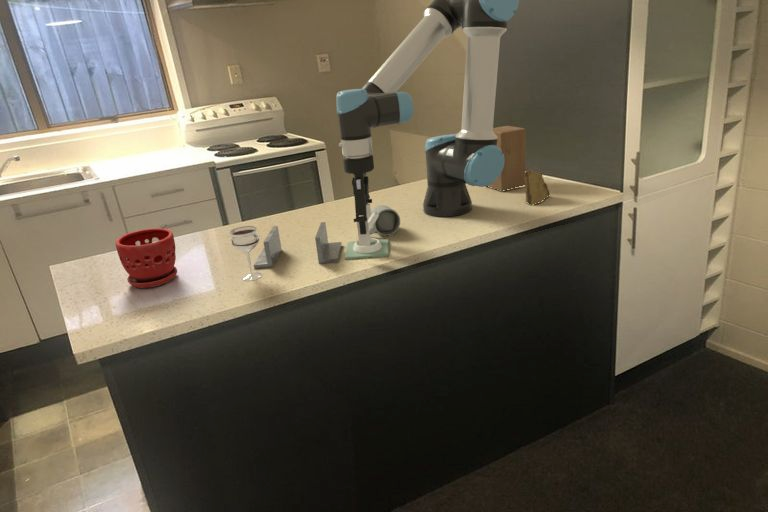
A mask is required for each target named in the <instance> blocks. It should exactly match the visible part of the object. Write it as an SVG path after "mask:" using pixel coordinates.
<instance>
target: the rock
mask: <svg viewBox="0 0 768 512" xmlns="http://www.w3.org/2000/svg"><path fill="white" fill-rule="evenodd" d="M524 188H525V203H526V202H528V203H529V204H532V205H533V204H535V203H538V202H541V201H542V200H544V198H546V197H547V196H549V195H550V196H551V193H550V190H549V187H548V184H547V183H546V182H545V180H544V177H543V174H542V173H539V171H536V170H527V171H525V187H524ZM546 199H547V198H546ZM544 201H545V200H544ZM528 203H527V204H528ZM529 204H528V205H529ZM532 205H531V206H532Z"/></svg>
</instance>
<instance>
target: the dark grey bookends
mask: <svg viewBox="0 0 768 512" xmlns="http://www.w3.org/2000/svg"><path fill="white" fill-rule="evenodd" d="M314 241H315V246H316V253H317V261H318V264H319V265H320V264H321V265H322V264H332V263H335V262H336V263H338V262H339V258H340V255H341V251H342V243H343V242H342V241H337V242H329V239H328V231H327V223H326V221H324V222H323V221H322V222H320V225H319V227H318V229H317V232H316V235H315V237H314ZM282 251H283V249H282V243H281V238H280V232H279V226H278V225H273V226H272V227H271V230H270V231H269V232H268V234H267V235H266V237H265V239H264V240H263V249H262V250H261V251H260V254H259V255H258V256H257V258H256V260H255V262H254V263H253V269H255V270H256V269H266V268H268V269H269V268H273V267H274V266H275V264H276V262H277V260H278V258H279V256H280V254H281V253H282Z"/></svg>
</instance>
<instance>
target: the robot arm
mask: <svg viewBox="0 0 768 512" xmlns="http://www.w3.org/2000/svg"><path fill="white" fill-rule="evenodd" d="M519 3H520V0H432V2H430V4H429V5H428V6H427V7H426V9H425V10H424V11H423V18H422V19H421V20H420V21H419V22H418V24H417V25H416V26H414V28H413V29H412V30H411V31H410V33H409V34H408V35H407V36H406V37H405V39H404V40H402V42H401V43H400V44H399V45H398V47H396V49H395V50H394V51H393V52H392V53H391V55H389V57H388V58H387V59H386V60H385V61H384V62H383V64H381V66H380V67H379V68H378V69H377V71H376V72H375V73H374V74H372V76H371V78H369V79H368V81H367V82H366V83H365V84H364V85H363V86H362V88H353V89H344V90H340V91H338V92H337V93H336V98H335V99H336V101H335V102H336V103H335V104H336V105H335V106H336V114H337V120H338V128H339V129H338V130H339V135H340V142H339V143H338V147H339V148H341V152H342V153H341V154H342V156H343V158H342V163H343V172H344V173H347V174H349V175H350V174H352V175H354V177H352V180H351V185H352V189H353V190H352V191H353V196H354V209H355V218H353V223H356V225H357V235H358V240H359V246H369V245H370V238H371V235H370V236H369V226H368V220H369V218H370V217H371V211H372V209H371V204H372V203H373V199H372V198H370V197H371V196H370V192H369V187H370V186H369V184H370V183H369V176H367V173H369V172H372V171H373V170H374V169H375V165H374V164H375V163H374V155H373V149H374V148H373V138H372V133H371V132H372V131H371V130H372V129H375V128H378V127H385V126H386V127H387V126H391V125H397V124H398V125H400V124H403V123H406V122H409V121H410V120H411V119H412V117H413V115H414V111H415V110H414V102H413V98H412V96H411V95H410V94H409V93H408V92H406V91H398V90H399V89H400V88H401V87H402V86H403V85H404V84H405V82H406V81H407V80H408V79H409V78H410V77H411V76H412V74H413V73H414V72H415V71H417V69H418V68H419V66H420V65H421V64H422V62H424V60H425V59H426V58H427V57H428V56H429V55H430V54H431V52H433V50H434V49H435V48H436V47H437V46H438V45H439V43H441V42H442V40H443V39H444V38H449V37H451V35H452V34H453V33H454V32H455V31H457V30H458V29H459V28H461V31H462V32H463V33H464V35H465V36H466V49H465V66H464V67H465V68H464V83H463V86H464V87H463V97H462V98H463V100H462V113H461V114H462V115H461V130H459V131H458V133H452V134H451V133H450V134H443V135H437V136H433V137H429V138H428V139H426V141H425V147H424V148H425V149H424V153H425V163H426V166H425V167H426V180H427V188H426V191H425V196H424V199H423V203H422V207H423V209H422V210H423V212H424V213H425V214H426V215H428V216H434V217H455V216H461V215H464V214H468V213H469V212H471V211H472V209H473V204H472V201H473V200H472V198H471V195H470V193H469V191H468V187H467V185H469V186H471V187H481V188H483V187H486V186H488V185H490V184H492V183H493V182H495V180H496V179H497V178H498V177H499V176H500V174H501V172H502V170H503V167H504V154H503V153H502V150H501V149H500V148H498V147H497V140H498V137H497V136H496V135H495V133H494V132H493V128H494V120H495V118H494V117H495V109H496V108H495V107H496V97H497V96H496V93H497V84H498V83H497V80H498V69H499V59H500V58H499V56H500V46H501V45H500V43H501V37H502V35H504V34H505V33H506V31H507V30H508V29H507V28H508V21H509V20H510V19H511V18H512V17H514V15H515V13H517V10H518V7H519ZM372 227H373V226H372ZM372 227H371V228H372Z"/></svg>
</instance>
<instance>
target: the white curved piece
mask: <svg viewBox="0 0 768 512" xmlns="http://www.w3.org/2000/svg"><path fill="white" fill-rule="evenodd" d="M378 216H379V214H378V213H377V212H376V211H374V212H373V214H372V215H371V217H370V218H369V220H368V226H369V231H370V229H371V227H373V224H374V223H375V221H376V220H377V218H378ZM369 236H370V243H376V244H374V245H370V246H359V239H358V240H357V241H354V242H355V244H354V247H353V250H354V251H355V252H358V253H371V252H375V251H378V250H380V249H381V248H382V245H381V243H380V241H379V240H380V239H378V238H375V237H371V235H369Z"/></svg>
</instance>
